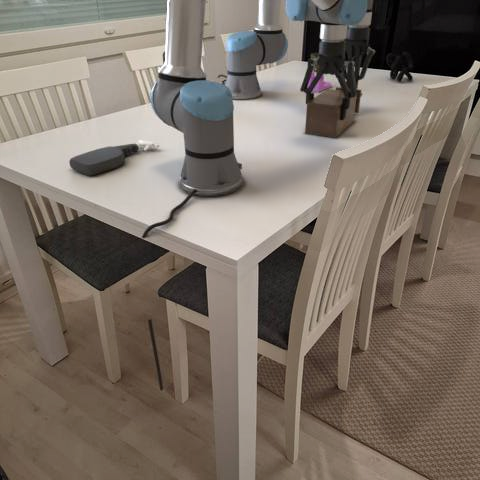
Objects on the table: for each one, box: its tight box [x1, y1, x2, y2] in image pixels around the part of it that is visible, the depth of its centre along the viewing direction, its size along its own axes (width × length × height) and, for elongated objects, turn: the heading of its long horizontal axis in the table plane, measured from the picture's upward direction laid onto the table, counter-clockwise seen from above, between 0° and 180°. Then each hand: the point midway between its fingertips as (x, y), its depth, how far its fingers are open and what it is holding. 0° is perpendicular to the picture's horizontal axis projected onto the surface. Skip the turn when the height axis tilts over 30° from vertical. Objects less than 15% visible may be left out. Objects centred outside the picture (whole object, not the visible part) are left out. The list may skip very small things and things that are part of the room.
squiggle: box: [385, 51, 414, 83], centre depth 198 cm, size 11×10×15 cm
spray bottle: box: [68, 139, 160, 177], centre depth 124 cm, size 3×11×24 cm
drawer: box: [335, 86, 363, 114], centre depth 152 cm, size 24×9×8 cm, turn 151°
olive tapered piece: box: [310, 52, 320, 72], centre depth 217 cm, size 8×7×8 cm
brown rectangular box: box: [304, 88, 357, 139], centre depth 143 cm, size 19×10×10 cm, turn 151°
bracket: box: [307, 71, 332, 93], centre depth 188 cm, size 13×6×7 cm, turn 143°
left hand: (326, 117), depth 140 cm, fingers closed on brown rectangular box, 10 cm apart
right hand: (350, 99), depth 159 cm, fingers closed
